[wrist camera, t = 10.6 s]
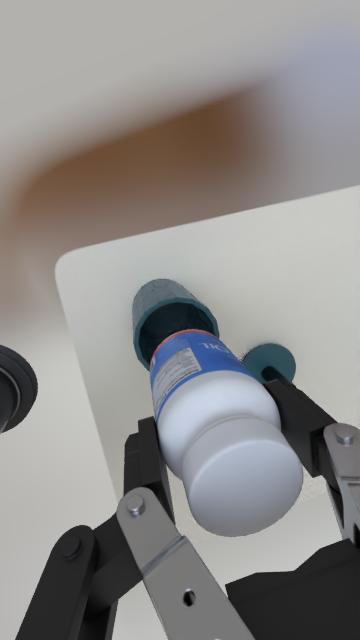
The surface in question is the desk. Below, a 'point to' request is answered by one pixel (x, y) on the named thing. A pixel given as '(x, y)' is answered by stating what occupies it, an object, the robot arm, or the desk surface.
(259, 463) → the pill bottle
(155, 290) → the pot
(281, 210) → the desk surface
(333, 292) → the desk surface
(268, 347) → the lid
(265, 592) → the robot arm
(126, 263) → the desk surface
